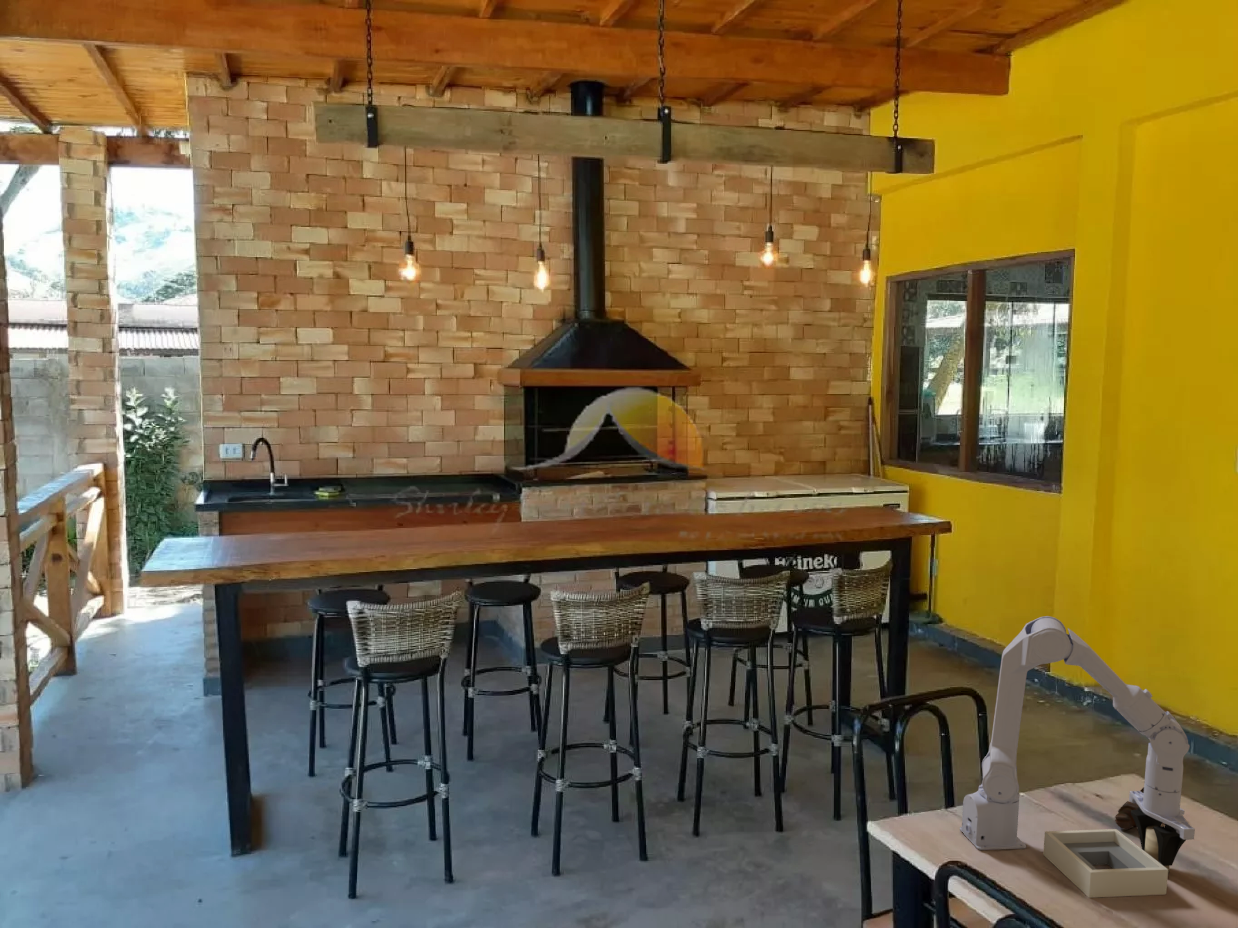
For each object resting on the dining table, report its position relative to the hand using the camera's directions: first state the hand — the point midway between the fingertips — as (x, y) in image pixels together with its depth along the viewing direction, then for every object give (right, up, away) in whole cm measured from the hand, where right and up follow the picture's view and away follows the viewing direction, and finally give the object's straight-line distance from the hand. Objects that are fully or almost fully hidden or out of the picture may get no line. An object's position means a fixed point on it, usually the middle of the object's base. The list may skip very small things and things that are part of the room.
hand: (1157, 857), depth 165 cm
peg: (0, -2, 0) cm, 2 cm away
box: (-11, -2, -2) cm, 11 cm away
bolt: (+7, -1, +19) cm, 20 cm away
